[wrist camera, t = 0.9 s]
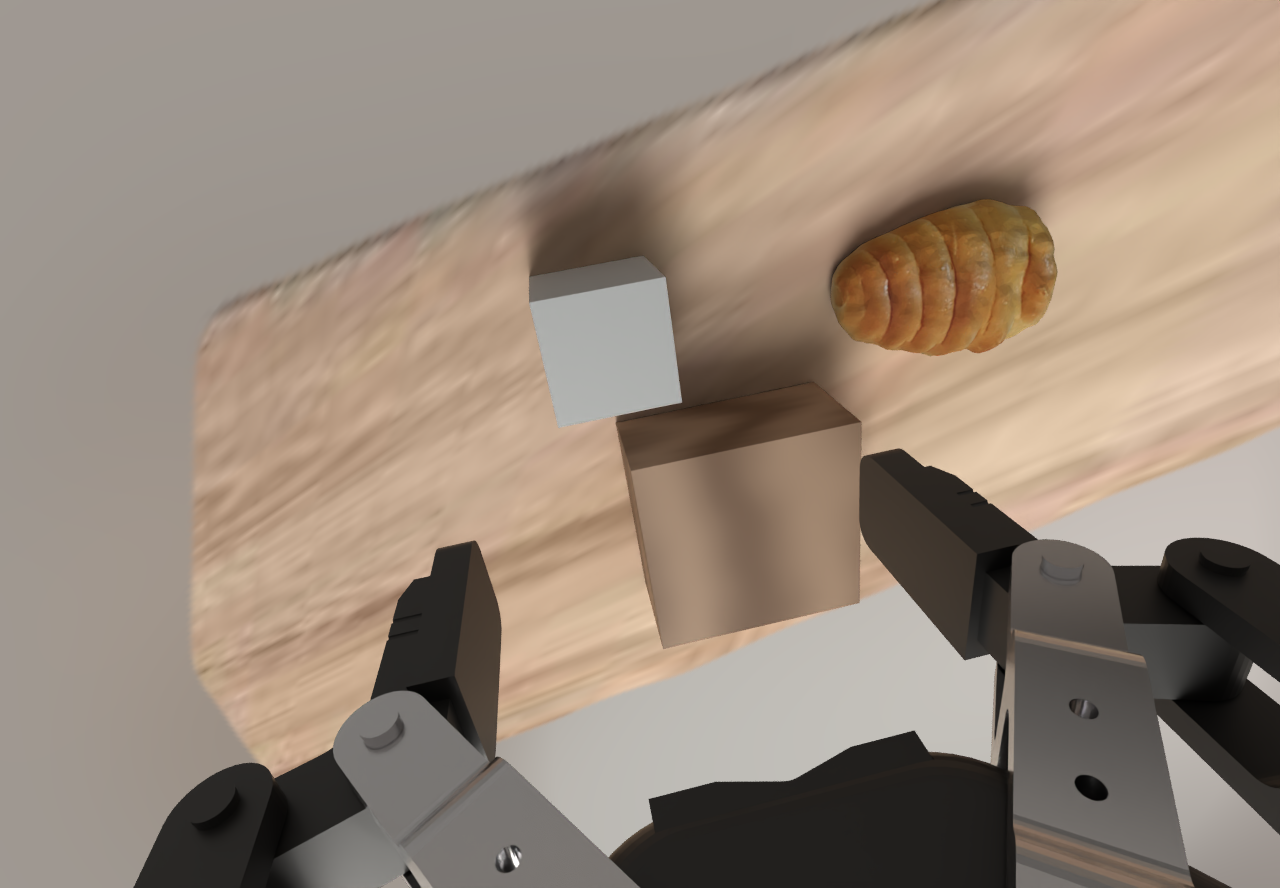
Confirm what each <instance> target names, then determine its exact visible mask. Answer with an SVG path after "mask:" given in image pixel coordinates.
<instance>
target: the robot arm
mask: <svg viewBox="0 0 1280 888" xmlns="http://www.w3.org/2000/svg"><path fill="white" fill-rule="evenodd" d="M859 522H860V528H861V532H862V535H863V537H864V540H865V542H866V544H867V545H868V547H869V548H870V549H871V550H872V552H873V553H874V554H875V555H876V556H877V558H878V559H879V560H880V561H881V562H882V563H883V565H884V566H885V567H886V568H887V569H888V571H889V572H890V573H891V574H892V575H893V576H894V578H895V579H896V580H897V581H898V582H899V583H900V585H901V586H902V587H903V588H904V589H905V591H906V592H907V593H908V594H909V595H910V596H911V598H912V599H913V600H914V601H915V602H916V604H917V605H918V606H919V607H920V608H921V609H922V611H923V612H924V613H925V614H926V615H927V616H928V618H929V619H930V620H931V621H932V622H933V624H934V625H935V626H936V627H937V628H938V629H939V631H940V632H941V633H942V634H943V635H944V637H945V638H946V639H947V640H948V641H949V642H950V644H951V645H952V646H953V647H954V648H955V649H956V651H957V652H958V653H959V654H960V655H961V657H962V658H963V659H964V660H968V659H971V658H976V657H980V656H983V655H987V654H990V655H991V656H992V657H993V658H994V659H995V660H996V661H997V663H996V669H995V676H994V699H993V722H992V744H991V763H986V762H983V761H980V760H977V759H973V758H970V757H965V756H960V755H955V754H948V753H939V752H928V750H927V749H926V748H925V746H924V745H923V743H922V742H921V740H920V739H919V737H918V735H917V734H916V732H915V731H911V732H907V733H903V734H899V735H896V736H892V737H888V738H884V739H880V740H876V741H872V742H868V743H864V744H861V745H857V746H853V747H850V748H848V749H847V750H845V751H843V752H841V753H840V754H838V755H836V756H834V757H833V758H831V759H829V760H827V761H826V762H824V763H822V764H821V765H819V766H817V767H815V768H813V769H812V770H810V771H808V772H807V773H805V774H803V775H801V776H800V777H798V778H796V779H794V780H791V781H784V782H783V781H782V782H714V783H709V784H705V785H702V786H698V787H694V788H690V789H686V790H682V791H678V792H675V793H671V794H667V795H663V796H659V797H656V798H651V799H649V803H650V809H651V814H652V820H653V822H652V823H651V824H649V825H647V826H646V827H644V828H642V829H641V830H639V831H638V832H636V833H635V834H634V835H632V836H631V837H630V838H628V839H627V840H626V841H625V842H624V843H623V844H622V845H621V846H620V847H618V848H617V849H616V850H615V851H614V852H613V853H612V854H611V855H610V857H609V858H608V857H607V856H606V855H605V854H604V853H603V852H602V851H601V850H600V849H599V848H598V847H597V846H596V845H594V844H593V843H592V842H591V841H590V840H589V839H588V838H587V837H586V836H585V835H584V834H583V833H582V832H581V831H580V830H579V829H577V827H576V826H575V825H573V824H572V823H571V822H570V821H569V820H568V819H567V818H566V817H565V816H564V815H563V814H562V813H561V812H560V811H559V810H557V808H556V807H555V806H553V805H552V804H551V803H550V802H549V801H548V800H547V799H546V798H545V797H544V796H543V795H542V794H541V793H540V792H539V791H538V790H537V789H536V788H535V787H533V786H532V785H531V784H530V783H529V782H528V781H527V780H526V779H525V778H524V777H523V776H522V775H521V774H520V773H519V772H518V771H517V770H516V769H515V768H513V767H512V766H511V765H510V764H509V763H508V762H507V761H505V760H504V759H502V758H501V757H496V758H495V752H496V733H497V713H498V693H499V672H500V652H501V618H500V612H499V607H498V603H497V599H496V596H495V593H494V590H493V587H492V584H491V581H490V578H489V575H488V572H487V569H486V566H485V563H484V560H483V557H482V554H481V551H480V548H479V546H478V544H477V542H476V541H470V542H466V543H461V544H456V545H452V546H447V547H443V548H438V549H437V550H436V553H435V557H434V562H433V566H432V571H431V575H430V576H428V577H424V578H419V579H415V580H413V582H412V583H411V584H410V586H409V587H408V588H407V589H406V591H405V592H404V593H403V594H402V596H401V597H400V598H399V599H398V603H397V606H396V610H395V614H394V617H393V624H391V628H390V632H389V635H388V637H389V640H388V641H387V642H386V646H385V650H384V653H383V657H382V660H381V664H380V668H379V671H378V675H377V678H376V682H375V686H374V689H373V693H372V696H371V700H370V701H369V702H367V703H366V704H364V705H362V706H361V707H360V708H359V709H357V710H356V711H355V712H354V713H353V714H352V715H351V716H350V717H349V718H348V719H347V720H346V721H345V723H344V724H343V725H342V727H341V728H340V730H339V731H338V734H337V736H336V738H335V741H334V745H333V748H332V749H330V750H329V751H327V752H326V753H324V754H322V755H320V756H318V757H316V758H314V759H312V760H310V761H308V762H306V763H304V764H302V765H301V766H299V767H297V768H295V769H293V770H291V771H289V772H287V773H285V774H283V775H281V776H279V777H277V778H275V779H274V777H273V776H272V774H271V773H270V771H269V770H268V769H267V768H266V767H265V766H263V765H260V764H257V763H243V764H239V765H234V766H232V767H229V768H226V769H224V770H222V771H220V772H218V773H216V774H214V775H212V776H210V777H209V778H207V779H206V780H204V781H203V782H201V783H200V784H199V785H197V786H196V787H195V788H194V789H192V790H191V791H190V792H189V793H188V794H187V795H186V796H185V797H184V798H183V799H182V800H181V801H180V802H179V803H178V804H177V805H176V807H175V808H174V809H173V810H172V812H171V813H170V814H169V816H168V817H167V819H166V821H165V823H164V825H163V826H162V829H161V831H160V833H159V835H158V837H157V839H156V841H155V843H154V845H153V848H152V850H151V852H150V854H149V856H148V858H147V860H146V862H145V865H144V867H143V869H142V871H141V873H140V875H139V877H138V879H137V881H136V884H135V886H134V888H381V887H382V886H384V885H386V884H387V883H389V882H391V881H392V880H394V879H396V878H397V877H399V876H401V877H402V878H403V879H404V881H405V882H406V884H407V885H408V887H409V888H1231V887H1229V886H1227V885H1225V884H1224V883H1222V882H1220V881H1218V880H1216V879H1214V878H1212V877H1210V876H1208V875H1206V874H1204V873H1202V872H1201V871H1199V870H1197V869H1195V868H1193V867H1191V866H1189V865H1188V863H1187V858H1186V853H1185V848H1184V843H1183V839H1182V834H1181V829H1180V824H1179V819H1178V814H1177V809H1176V805H1175V800H1174V795H1173V791H1172V785H1171V780H1170V776H1169V771H1168V766H1167V761H1166V756H1165V752H1164V746H1163V742H1162V737H1161V732H1160V727H1159V722H1158V717H1157V715H1158V716H1159V717H1160V718H1161V719H1162V720H1163V721H1164V722H1165V723H1166V724H1167V725H1168V726H1169V727H1170V728H1171V729H1172V730H1174V731H1175V732H1176V733H1177V734H1178V735H1179V736H1180V737H1181V738H1182V739H1183V740H1184V741H1185V742H1186V743H1187V744H1188V745H1189V746H1190V747H1191V748H1192V749H1193V750H1194V751H1195V752H1196V753H1197V754H1198V755H1199V756H1200V757H1201V758H1202V759H1203V760H1204V761H1205V762H1206V763H1207V764H1208V765H1209V766H1210V767H1211V768H1212V769H1213V770H1214V771H1215V772H1216V773H1217V774H1218V775H1219V776H1220V777H1221V778H1222V779H1223V780H1224V781H1226V783H1227V784H1229V785H1230V787H1232V788H1233V789H1234V790H1235V791H1236V792H1237V793H1238V794H1239V795H1240V796H1241V797H1242V798H1243V799H1244V800H1245V801H1246V802H1247V803H1248V804H1249V805H1250V806H1251V807H1252V808H1253V809H1254V810H1255V811H1256V812H1257V813H1258V814H1259V815H1260V816H1261V817H1262V818H1263V819H1264V820H1265V821H1266V822H1267V823H1268V824H1269V825H1270V826H1271V827H1272V828H1273V829H1274V830H1275V831H1276V832H1277V833H1279V835H1280V705H1279V704H1278V703H1277V702H1275V701H1274V700H1273V699H1272V698H1270V697H1269V696H1268V695H1267V694H1265V693H1264V692H1263V691H1262V690H1260V689H1259V688H1258V687H1257V686H1255V685H1254V684H1253V683H1251V682H1250V681H1249V680H1248V679H1247V676H1248V674H1249V672H1250V669H1251V667H1252V664H1253V662H1254V663H1255V664H1257V665H1258V666H1260V668H1262V669H1263V670H1264V671H1266V672H1267V673H1268V674H1270V675H1271V676H1272V677H1273V678H1275V679H1276V680H1277V681H1279V682H1280V565H1279V564H1277V563H1276V562H1274V561H1272V560H1271V559H1269V558H1267V557H1266V556H1264V555H1262V554H1260V553H1258V552H1256V551H1254V550H1252V549H1249V548H1247V547H1244V546H1241V545H1238V544H1235V543H1231V542H1227V541H1223V540H1217V539H1210V538H1187V539H1181V540H1177V541H1175V542H1173V543H1171V544H1170V545H1168V546H1167V548H1166V550H1165V553H1164V557H1163V560H1162V563H1161V566H1111V565H1110V564H1109V563H1108V562H1107V561H1106V560H1105V559H1104V558H1103V557H1101V556H1100V555H1099V554H1097V553H1095V552H1094V551H1092V550H1090V549H1088V548H1085V547H1083V546H1080V545H1077V544H1074V543H1070V542H1066V541H1060V540H1047V539H1045V540H1044V539H1043V540H1038V539H1036V538H1035V537H1034V536H1033V535H1031V534H1030V533H1029V532H1027V531H1026V530H1025V529H1024V528H1022V527H1021V526H1020V525H1018V524H1017V523H1016V522H1014V521H1013V520H1012V519H1011V518H1009V517H1008V516H1007V515H1005V514H1004V513H1003V512H1002V511H1000V510H999V509H998V508H996V507H995V506H994V505H993V504H991V503H990V504H988V502H987V500H986V499H985V498H984V497H982V496H981V495H980V494H978V493H977V492H973V489H972V488H971V487H969V486H968V485H967V484H965V483H964V482H963V481H962V480H960V479H959V478H958V477H956V476H955V475H952V474H950V473H947V472H945V471H942V470H940V469H937V468H935V467H932V466H927V467H924V466H922V465H921V464H920V463H919V462H917V461H916V460H915V459H914V458H913V457H911V456H910V455H909V454H908V453H906V452H905V451H904V450H902V449H894V450H889V451H885V452H880V453H876V454H871V455H866V456H864V457H863V458H862V459H861V462H860V477H859Z"/></svg>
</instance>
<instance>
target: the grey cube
mask: <svg viewBox="0 0 1280 888" xmlns="http://www.w3.org/2000/svg"><path fill="white" fill-rule="evenodd" d="M529 304H530V308H531V312H532V317H533V321H534V325H535V330H536V334H537V338H538V342H539V347H540V351H541V355H542V360H543V364H544V368H545V372H546V377H547V381H548V385H549V390H550V394H551V398H552V402H553V407H554V411H555V415H556V420H557V424H558V428H560V427H565V426H570V425H574V424H579V423H584V422H589V421H594V420H599V419H604V418H608V417H613V416H618V415H623V414H628V413H633V412H638V411H643V410H647V409H652V408H657V407H662V406H667V405H672V404H677V403H682V398H681V391H680V383H679V375H678V368H677V360H676V353H675V345H674V337H673V330H672V322H671V315H670V307H669V299H668V292H667V284H666V277H665V276H664V275H663V274H662V273H661V272H660V271H659V270H658V269H657V268H656V267H655V266H654V265H653V264H652V263H651V262H650V261H649V260H648V259H647V258H645V257H644V256H638V257H633V258H627V259H622V260H617V261H611V262H606V263H600V264H595V265H590V266H584V267H579V268H574V269H568V270H563V271H557V272H552V273H547V274H541V275H536V276H531V277H529Z"/></svg>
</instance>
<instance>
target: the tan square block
mask: <svg viewBox="0 0 1280 888" xmlns="http://www.w3.org/2000/svg"><path fill="white" fill-rule="evenodd" d="M616 426H617V431H618V437H619V442H620V447H621V453H622V458H623V463H624V469H625V474H626V480H627V485H628V490H629V496H630V501H631V506H632V512H633V517H634V523H635V528H636V533H637V539H638V544H639V549H640V555H641V560H642V565H643V571H644V576H645V582H646V586H647V590H648V594H649V597H650V601H651V605H652V609H653V612H654V616H655V620H656V624H657V627H658V631H659V635H660V639H661V642H662V646H663V649H666V648H670V647H674V646H678V645H683V644H687V643H691V642H695V641H700V640H704V639H708V638H712V637H716V636H721V635H725V634H729V633H733V632H738V631H742V630H746V629H750V628H755V627H759V626H763V625H767V624H772V623H776V622H780V621H784V620H789V619H793V618H797V617H801V616H806V615H810V614H814V613H818V612H823V611H827V610H831V609H835V608H840V607H844V606H848V605H852V604H857V603H859V601H860V522H859V477H860V462H861V421H860V420H858V419H857V418H856V417H855V416H854V415H852V414H851V413H850V412H849V411H848V410H846V409H845V408H844V407H843V406H842V405H840V404H839V403H838V402H837V401H836V400H834V399H833V398H832V397H831V396H830V395H828V394H827V393H826V392H825V391H824V390H823V389H821V388H820V387H819V386H818V385H817V384H815V383H814V382H811V383H807V384H802V385H797V386H792V387H787V388H782V389H778V390H773V391H768V392H763V393H758V394H753V395H748V396H744V397H739V398H734V399H729V400H724V401H719V402H714V403H710V404H705V405H700V406H695V407H690V408H685V409H681V410H676V411H671V412H666V413H661V414H656V415H651V416H647V417H642V418H637V419H632V420H627V421H622V422H617V423H616Z"/></svg>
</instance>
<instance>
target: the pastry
mask: <svg viewBox="0 0 1280 888" xmlns="http://www.w3.org/2000/svg"><path fill="white" fill-rule="evenodd" d="M1056 277H1057V267H1056V263H1055V260H1054V244H1053V240H1052V237H1051V235H1050V233H1049V231H1048V228H1047V227H1046V226H1045V225H1044V224H1043V222H1042V221H1041V219H1040V217H1039V216H1038V215H1037V213H1036V212H1035V211H1034V210H1032V209H1030V208H1028V207H1026V206H1013V205H1007V204H1005V203H1003V202H999V201H995V200H991V199H984V200H978V201H975V202H972V203H968V204H964V205H959V206H955V207H951V208H949V209H946V210H943V211H939V212H936V213H933V214H930V215H927V216H925V217H922V218H919V219H917V220H915V221H912V222H910V223H908V224H905V225H903V226H901V227H899V228H897V229H895V230H892V231H890V232H888V233H886V234H883V235H881V236H879V237H876V238H874V239H872V240H870V241H868V242H866V243H864V244H862V245H860V246H859V247H858V248H857V249H856V250H855V251H854V252H852V253H851V254H850V255H849V256H848V257H846V258H845V259H844V260H843V261H842V262H841V263H840V264H839V265H838V267H837V269H836V271H835V273H834V274H833V277H832V286H831V304H832V306H833V309H834V311H835V314H836V316H837V320H838V322H839V324H840V325H841V326H842V327H843V329H844V330H845V331H846V332H847V333H848V334H849V336H850V337H851V338H852V339H853V340H855V341H860V342H865V343H872V344H876V345H879V346H881V347H883V348H885V349H887V350H904V351H908V352H913V353H922V354H925V355H928V356H933V355H935V356H940V355H945V354H948V353H951V352H956V351H961V350H963V349H968V350H970V351H972V352H974V353H981V352H985V351H988V350H990V349H992V348H994V347H996V346H998V345H999V344H1000V343H1002V342H1003V341H1004V340H1005V339H1007V338H1010V337H1013V336H1015V335H1016V334H1018V333H1020V332H1021V331H1023V330H1024V329H1026V328H1028V327H1030V326H1033V325H1035V324H1037V323H1038V322H1039V320H1040V319H1041V318H1042V317H1043V316H1044V314H1045V312H1046V310H1047V308H1048V305H1049V303H1050V301H1051V298H1052V294H1053V290H1054V286H1055V281H1056Z"/></svg>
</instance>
